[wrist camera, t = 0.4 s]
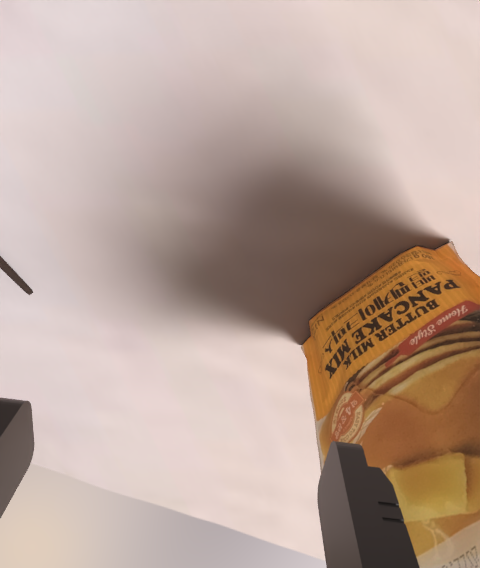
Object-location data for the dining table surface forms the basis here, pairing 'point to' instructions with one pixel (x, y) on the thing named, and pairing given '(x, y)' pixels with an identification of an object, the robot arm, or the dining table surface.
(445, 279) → the pancake mix bag
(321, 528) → the robot arm
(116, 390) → the dining table surface
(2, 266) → the sushi plate
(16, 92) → the dining table surface
